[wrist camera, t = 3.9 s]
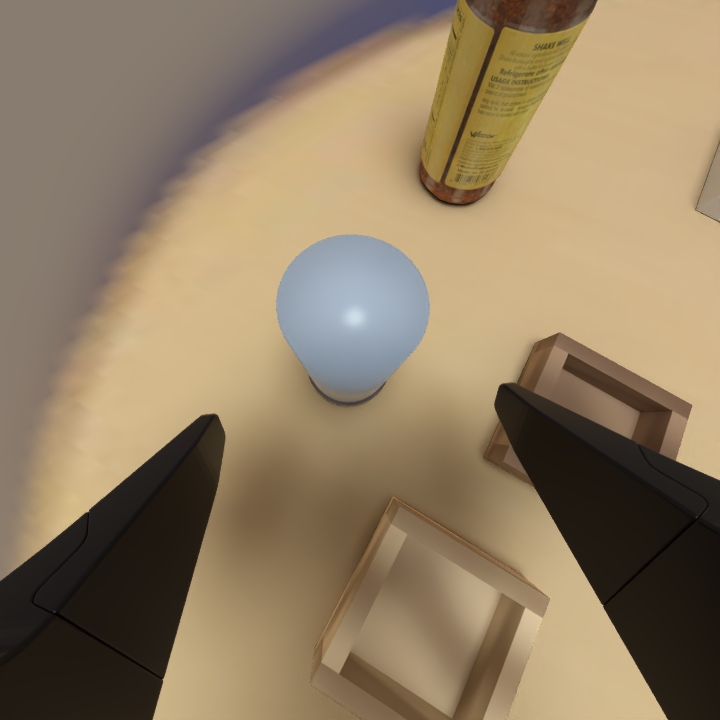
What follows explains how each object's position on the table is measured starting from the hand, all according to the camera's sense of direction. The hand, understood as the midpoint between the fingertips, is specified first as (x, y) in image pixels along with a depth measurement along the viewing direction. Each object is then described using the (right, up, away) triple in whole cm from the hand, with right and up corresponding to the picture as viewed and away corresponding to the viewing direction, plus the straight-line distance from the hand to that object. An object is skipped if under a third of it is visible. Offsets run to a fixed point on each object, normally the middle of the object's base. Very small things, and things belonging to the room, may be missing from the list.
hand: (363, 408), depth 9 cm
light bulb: (-1, +1, +11) cm, 11 cm away
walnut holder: (+14, -3, +10) cm, 18 cm away
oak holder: (+4, -13, +8) cm, 16 cm away
